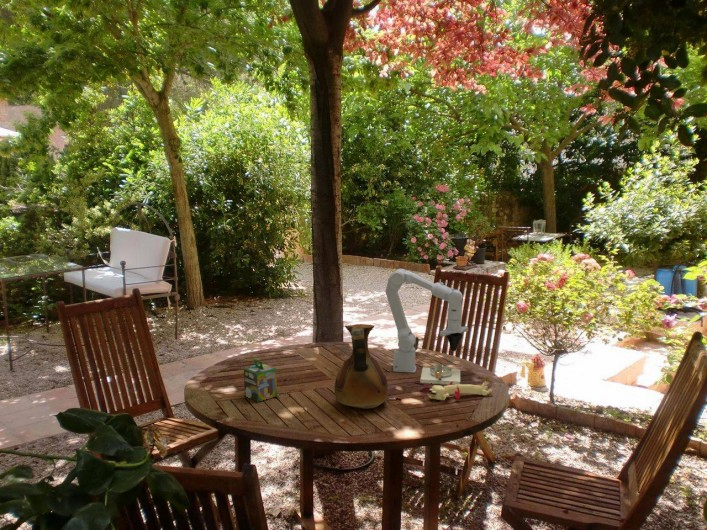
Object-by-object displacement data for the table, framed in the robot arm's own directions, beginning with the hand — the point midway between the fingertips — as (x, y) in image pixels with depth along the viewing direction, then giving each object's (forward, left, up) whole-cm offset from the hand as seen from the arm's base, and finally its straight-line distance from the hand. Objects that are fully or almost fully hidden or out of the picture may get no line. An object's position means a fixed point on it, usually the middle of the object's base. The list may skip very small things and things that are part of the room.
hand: (453, 350), depth 257 cm
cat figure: (+3, -27, -11) cm, 30 cm away
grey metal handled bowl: (-5, -10, -9) cm, 14 cm away
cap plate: (-5, -6, -10) cm, 13 cm away
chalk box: (-72, -41, -11) cm, 84 cm away
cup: (-20, +26, -11) cm, 34 cm away
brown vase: (-33, -42, -11) cm, 54 cm away
